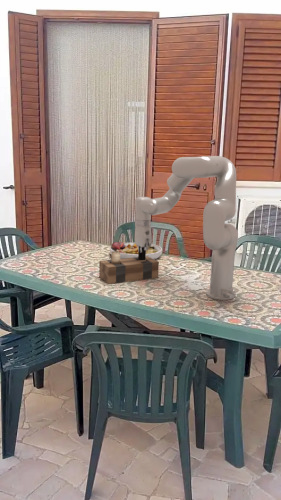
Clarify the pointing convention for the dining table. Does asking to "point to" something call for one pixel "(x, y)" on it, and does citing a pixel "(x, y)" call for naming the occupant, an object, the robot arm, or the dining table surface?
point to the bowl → (134, 250)
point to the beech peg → (115, 257)
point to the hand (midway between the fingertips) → (141, 259)
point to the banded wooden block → (128, 270)
